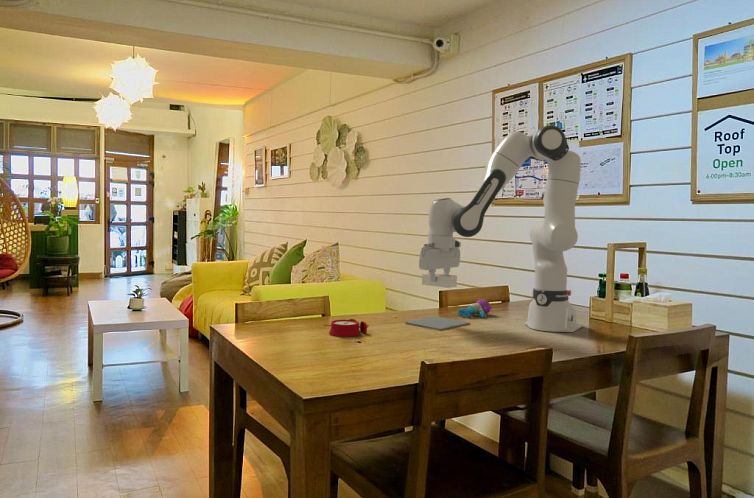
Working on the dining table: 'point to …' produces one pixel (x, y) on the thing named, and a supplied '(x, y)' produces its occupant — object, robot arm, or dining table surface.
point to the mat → (437, 323)
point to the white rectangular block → (440, 280)
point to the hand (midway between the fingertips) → (439, 280)
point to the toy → (476, 309)
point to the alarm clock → (347, 328)
